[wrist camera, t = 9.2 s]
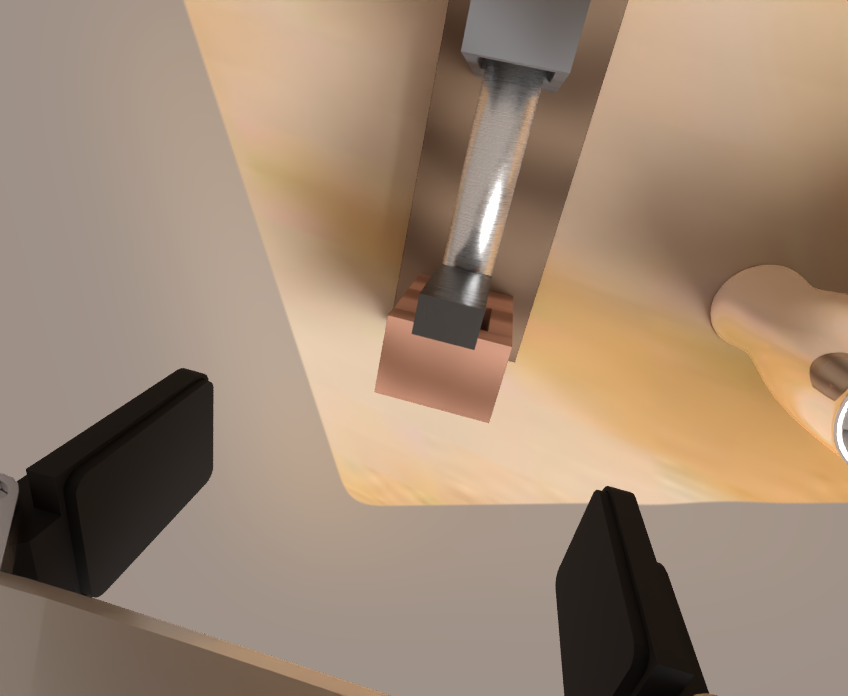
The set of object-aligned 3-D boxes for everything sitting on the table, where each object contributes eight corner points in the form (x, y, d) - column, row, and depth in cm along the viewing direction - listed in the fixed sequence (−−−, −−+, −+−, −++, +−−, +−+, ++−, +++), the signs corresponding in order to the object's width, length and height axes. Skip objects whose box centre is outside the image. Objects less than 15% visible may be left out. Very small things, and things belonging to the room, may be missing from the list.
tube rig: (473, -107, 27) (447, -257, 17) (649, -76, 26) (731, -216, 16) (394, 323, 38) (350, 385, 28) (514, 354, 37) (514, 429, 27)
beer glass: (781, 364, 34) (958, 509, 20) (685, 338, 34) (794, 462, 21) (838, 272, 31) (1090, 371, 17) (732, 245, 31) (895, 320, 18)
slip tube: (502, 1, 24) (494, -77, 15) (561, 12, 23) (585, -61, 15) (427, 339, 32) (396, 406, 23) (471, 350, 31) (455, 422, 23)
